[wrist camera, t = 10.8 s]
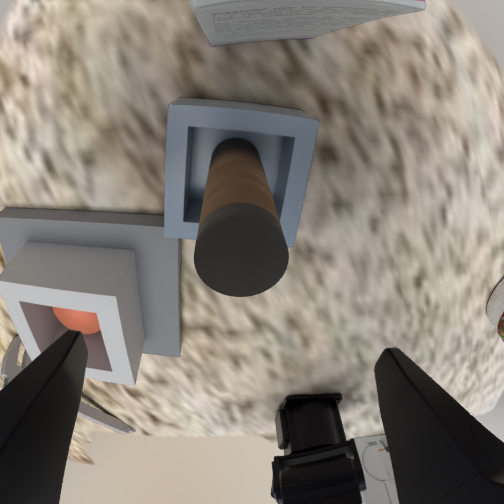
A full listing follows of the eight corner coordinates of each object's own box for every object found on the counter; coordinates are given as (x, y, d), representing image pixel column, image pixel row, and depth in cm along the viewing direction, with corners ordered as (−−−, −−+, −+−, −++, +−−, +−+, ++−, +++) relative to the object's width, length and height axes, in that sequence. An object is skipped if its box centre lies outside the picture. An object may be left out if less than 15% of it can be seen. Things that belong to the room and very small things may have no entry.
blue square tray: (303, 110, 17) (319, 120, 14) (283, 218, 21) (293, 247, 18) (179, 97, 16) (168, 104, 13) (173, 209, 20) (164, 237, 17)
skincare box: (447, 420, 44) (473, 490, 31) (430, 434, 47) (453, 501, 34) (350, 436, 41) (371, 529, 28) (335, 450, 44) (353, 535, 30)
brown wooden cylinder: (263, 140, 17) (297, 222, 9) (256, 186, 19) (279, 299, 10) (213, 135, 17) (195, 213, 9) (208, 181, 19) (192, 293, 10)
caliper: (14, 333, 26) (-8, 379, 21) (19, 331, 26) (-4, 378, 21) (130, 429, 37) (124, 469, 31) (136, 428, 36) (131, 469, 31)
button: (105, 277, 20) (98, 294, 19) (113, 320, 22) (107, 337, 21) (56, 272, 20) (46, 288, 18) (67, 313, 22) (59, 329, 20)
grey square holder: (181, 216, 20) (166, 273, 15) (181, 343, 27) (175, 402, 22) (4, 207, 18) (-41, 251, 13) (39, 324, 25) (16, 373, 20)
